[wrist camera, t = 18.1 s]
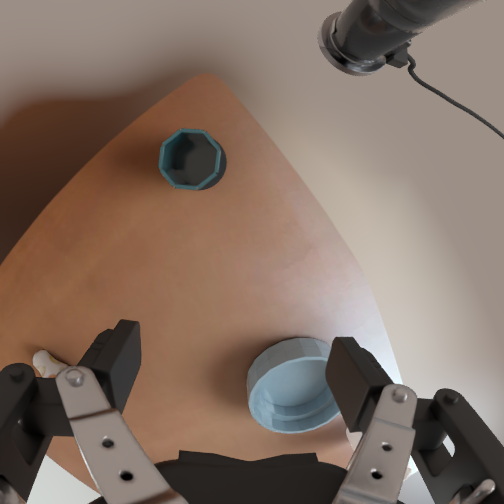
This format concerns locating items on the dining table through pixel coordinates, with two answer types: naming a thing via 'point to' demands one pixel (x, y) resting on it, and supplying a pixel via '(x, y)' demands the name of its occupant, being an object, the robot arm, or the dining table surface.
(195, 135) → the teal cup
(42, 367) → the white pear shape
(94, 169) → the dining table surface
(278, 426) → the glazed bowl
